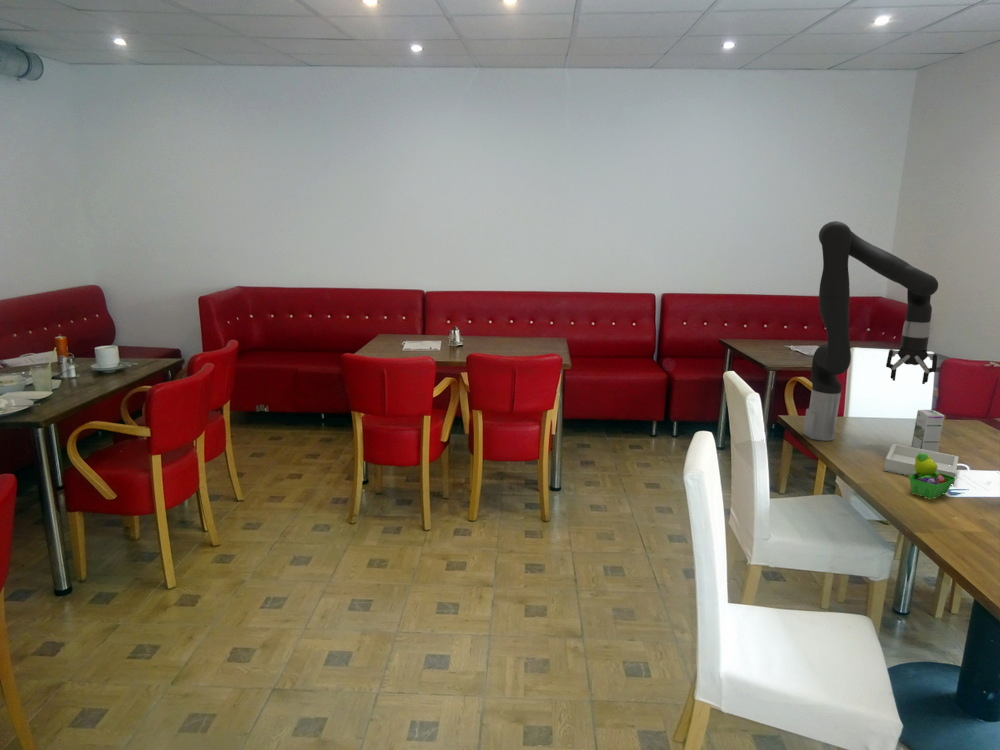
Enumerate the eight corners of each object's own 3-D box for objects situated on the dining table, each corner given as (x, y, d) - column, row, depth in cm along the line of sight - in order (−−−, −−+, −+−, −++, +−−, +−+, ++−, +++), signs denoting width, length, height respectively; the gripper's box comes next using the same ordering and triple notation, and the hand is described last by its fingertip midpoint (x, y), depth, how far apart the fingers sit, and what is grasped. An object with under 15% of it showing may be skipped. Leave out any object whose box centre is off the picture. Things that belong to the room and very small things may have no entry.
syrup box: (937, 456, 216) (945, 414, 212) (919, 455, 216) (927, 414, 212) (927, 450, 221) (934, 409, 218) (909, 449, 221) (917, 409, 218)
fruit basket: (933, 503, 180) (941, 464, 177) (900, 491, 187) (907, 454, 184) (953, 494, 185) (961, 457, 183) (920, 483, 193) (927, 447, 190)
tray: (953, 485, 192) (955, 473, 191) (883, 470, 202) (885, 458, 201) (956, 468, 206) (958, 456, 205) (891, 454, 216) (893, 443, 215)
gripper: (890, 334, 215) (883, 381, 219) (941, 338, 208) (933, 387, 212) (891, 330, 221) (884, 376, 225) (941, 334, 214) (933, 381, 218)
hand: (908, 381), depth 218 cm, fingers open, 8 cm apart
